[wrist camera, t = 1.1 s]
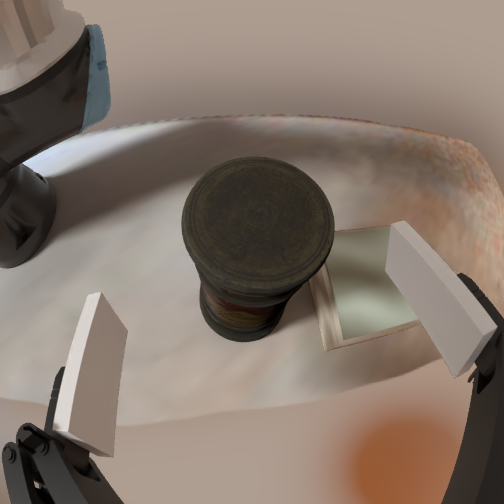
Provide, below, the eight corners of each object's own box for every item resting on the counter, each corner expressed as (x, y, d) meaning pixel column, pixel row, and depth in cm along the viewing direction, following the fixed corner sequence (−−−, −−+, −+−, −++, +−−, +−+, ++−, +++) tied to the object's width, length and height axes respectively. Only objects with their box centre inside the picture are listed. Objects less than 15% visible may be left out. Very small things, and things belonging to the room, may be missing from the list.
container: (201, 262, 33) (183, 148, 17) (280, 264, 34) (328, 156, 17) (198, 341, 29) (164, 293, 13) (284, 342, 30) (352, 295, 14)
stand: (301, 251, 35) (313, 231, 30) (384, 241, 36) (402, 223, 32) (324, 351, 30) (341, 345, 25) (410, 327, 32) (433, 318, 27)
